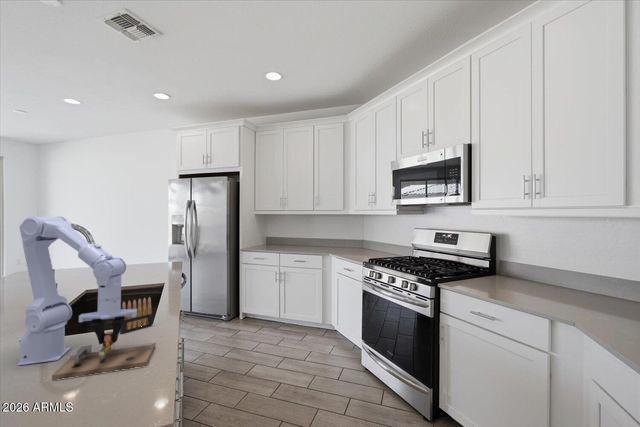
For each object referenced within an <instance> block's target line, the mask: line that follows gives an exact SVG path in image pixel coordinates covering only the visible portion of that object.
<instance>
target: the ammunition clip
mask: <svg viewBox="0 0 640 427" xmlns="http://www.w3.org/2000/svg"><path fill="white" fill-rule="evenodd" d="M121 306H122V307H121V309H137V316H136V317H126V319H125V320H124V322H123V324H122V326H121V329H120V331H119V334H120V335H125V334H128V333H133V332H136V331H140V330H143V329H147V328H150V327H153V316H152V315H153V314H152V300H151V297H150V296H149V297H148V298H147V299H146V297H144V298H143V300H142V299H141V298H139V299H138V302H137V301H136V299H133V302H131V300H128V303H127V306H126V302H125V301H123V302H122V305H121ZM141 326H142V327H141Z"/></svg>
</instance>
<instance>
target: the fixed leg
mask: <svg viewBox="0 0 640 427" xmlns="http://www.w3.org/2000/svg"><path fill="white" fill-rule="evenodd" d="M92 347H93V346H92V344H88V345H81V346H80V348H78V349H77V350H76V352H77V354H76V355H75V356H74V357H73V360H74V367H78V366H79V363H80V357H81V356H83V355H87V354H88V353H89V352H90V351H91V350H93V349H92Z"/></svg>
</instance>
